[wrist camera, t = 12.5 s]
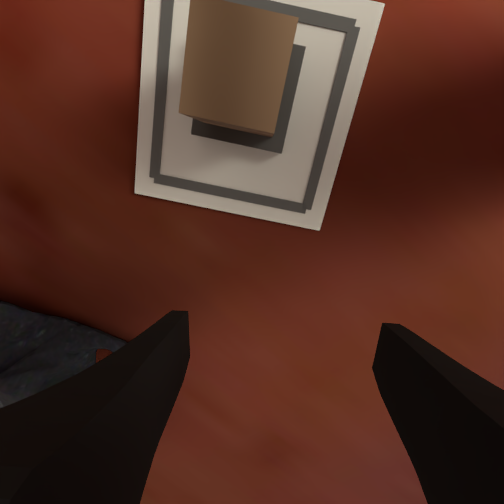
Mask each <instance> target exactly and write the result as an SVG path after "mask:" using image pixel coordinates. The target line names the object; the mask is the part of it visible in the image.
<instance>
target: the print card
mask: <svg viewBox="0 0 504 504" xmlns="http://www.w3.org/2000/svg"><path fill="white" fill-rule="evenodd" d="M224 1H228V2H233V3H237V4H242V5H246V6H250V7H255V8H259V9H264V10H268V11H272V12H277V13H281V14H286V15H290V16H294V17H299V19H298V24H297V28H296V33H295V38H294V43H293V44H297V45H301V46H306V49H305V53H304V58H303V62H302V66H301V71H300V75H299V80H298V84H297V89H296V93H295V97H294V102H293V106H292V111H291V115H290V120H289V124H288V128H287V133H286V137H285V142H284V146H283V151H282V154H280V153H275V152H271V151H266V150H262V149H257V148H252V147H248V146H243V145H238V144H234V143H229V142H224V141H220V140H215V139H211V138H206V137H201V136H197V135H192V134H191V129H192V120H193V118H191V117H188V116H186V115H183V114H180V113H179V103H180V94H181V84H182V74H183V65H184V55H185V45H186V35H187V26H188V16H189V6H190V0H145V5H144V24H143V43H142V62H141V80H140V99H139V118H138V137H137V155H136V174H135V193H136V194H141V195H146V196H151V197H156V198H160V199H165V200H170V201H175V202H180V203H185V204H190V205H195V206H200V207H205V208H210V209H215V210H219V211H224V212H229V213H234V214H239V215H244V216H249V217H254V218H259V219H264V220H269V221H274V222H279V223H283V224H288V225H293V226H298V227H303V228H308V229H313V230H318V231H320V228H321V224H322V221H323V217H324V214H325V210H326V207H327V204H328V200H329V197H330V193H331V190H332V186H333V183H334V179H335V176H336V172H337V169H338V165H339V162H340V158H341V155H342V151H343V148H344V145H345V141H346V138H347V134H348V131H349V127H350V124H351V120H352V117H353V113H354V110H355V106H356V103H357V99H358V96H359V92H360V89H361V85H362V82H363V79H364V75H365V72H366V68H367V65H368V61H369V58H370V54H371V51H372V47H373V44H374V40H375V37H376V33H377V30H378V26H379V23H380V20H381V16H382V13H383V9H384V6H385V4H384V3H380V2H375V1H371V0H224Z"/></svg>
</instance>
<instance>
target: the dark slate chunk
mask: <svg viewBox="0 0 504 504" xmlns="http://www.w3.org/2000/svg"><path fill="white" fill-rule="evenodd" d="M125 344H127V342H126V341H124V340H122V339H118V338H116V337H114V336H111V335H109V334H107V333H105V332H103V331H101V330H98V329H95V328H91V327H88V326H84V325H82V324H80V323H78V322H75V321H70V320H69V319H66V318H61V317H57V316H49V315H45V314H41V313H33V312H31V311H29V310H26V309H24V308H21V307H18V306H16V305H15V304H14V305H13V304H11V303H8V302H3V301H0V408H2V407H5V406H7V405H10V404H12V403H15V402H17V401H20V400H22V399H24V398H27V397H29V396H31V395H34V394H36V393H38V392H41V391H43V390H45V389H47V388H49V387H51V386H53V385H55V384H57V383H59V382H61V381H63V380H66V379H68V378H70V377H72V376H74V375H76V374H78V373H79V372H81V371H83V370H85V369H87V368H88V367H90V366H92V365H94V364H96V351H97V349H99V348H100V349H108V350H110V351H112V352H115V351H116V350H118V349H119V348H121V347H122V346H124V345H125Z"/></svg>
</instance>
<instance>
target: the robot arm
mask: <svg viewBox="0 0 504 504" xmlns="http://www.w3.org/2000/svg"><path fill="white" fill-rule="evenodd" d="M189 358H190V345H189V321H188V311H174V310H172V311H171V312H169V313H168V314H166V315H165V316H164V317H162V318H161V319H160V320H158V321H157V322H156V323H154V324H153V325H152V326H151V327H149V328H148V329H147V330H145V331H144V332H142V333H141V334H140V335H138V336H137V337H136V338H134V339H133V340H131V341H130V342H128V343H127V344H125V345H124V346H122V347H121V348H119V349H118V350H116V351H115V352H113V353H112V354H110V355H109V356H107V357H106V358H104V359H102V360H101V361H99V362H97V363H96V364H94V365H92V366H90V367H88V368H87V369H85V370H83V371H81V372H79V373H78V374H76V375H74V376H72V377H70V378H68V379H66V380H63V381H61V382H59V383H57V384H55V385H53V386H51V387H49V388H47V389H45V390H43V391H41V392H38V393H36V394H34V395H31V396H29V397H27V398H24V399H22V400H20V401H17V402H15V403H12V404H10V405H7V406H5V407H2V408H0V504H140V501H141V497H142V494H143V490H144V487H145V484H146V480H147V477H148V474H149V470H150V467H151V464H152V461H153V457H154V454H155V451H156V449H157V446H158V443H159V440H160V438H161V435H162V433H163V431H164V428H165V426H166V423H167V421H168V418H169V416H170V413H171V411H172V408H173V406H174V403H175V401H176V398H177V396H178V393H179V391H180V388H181V386H182V383H183V380H184V377H185V373H186V370H187V366H188V362H189ZM372 369H373V372H374V376H375V379H376V382H377V385H378V388H379V391H380V394H381V397H382V399H383V401H384V403H385V405H386V408H387V410H388V412H389V414H390V416H391V418H392V421H393V423H394V425H395V427H396V429H397V431H398V433H399V436H400V438H401V440H402V442H403V444H404V446H405V448H406V450H407V453H408V455H409V457H410V459H411V461H412V464H413V466H414V468H415V471H416V473H417V475H418V478H419V481H420V484H421V486H422V489H423V492H424V495H425V497H426V500H427V503H428V504H504V390H502V389H501V388H499V387H497V386H495V385H494V384H492V383H490V382H489V381H487V380H485V379H484V378H482V377H480V376H479V375H477V374H475V373H474V372H472V371H471V370H469V369H467V368H466V367H464V366H463V365H461V364H460V363H458V362H457V361H455V360H453V359H452V358H450V357H449V356H447V355H446V354H444V353H443V352H441V351H440V350H439V349H437V348H436V347H434V346H433V345H431V344H430V343H428V342H427V341H425V340H424V339H422V338H421V337H419V336H418V335H416V334H415V333H413V332H412V331H410V330H409V329H407V328H405V327H404V326H402V325H400V324H392V323H382V327H381V331H380V335H379V340H378V344H377V349H376V353H375V358H374V362H373V366H372Z"/></svg>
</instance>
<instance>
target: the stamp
mask: <svg viewBox="0 0 504 504" xmlns="http://www.w3.org/2000/svg"><path fill="white" fill-rule="evenodd" d="M298 19H299V17H294V16H290V15H286V14H281V13H277V12H272V11H268V10H264V9H259V8H255V7H250V6H246V5H242V4H237V3H233V2H228V1H224V0H190V6H189V16H188V26H187V35H186V45H185V55H184V65H183V74H182V84H181V94H180V103H179V113H180V114H183V115H186V116H188V117H191V118H193V120H192V129H191V134H192V135H197V136H201V137H206V138H211V139H215V140H220V141H224V142H229V143H234V144H238V145H243V146H248V147H252V148H257V149H262V150H266V151H271V152H275V153H280V154H282V151H283V146H284V142H285V137H286V133H287V128H288V124H289V120H290V115H291V111H292V106H293V102H294V97H295V93H296V89H297V84H298V80H299V75H300V71H301V66H302V62H303V58H304V53H305V49H306V46H301V45H297V44H293V43H294V38H295V33H296V28H297V24H298Z"/></svg>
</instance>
